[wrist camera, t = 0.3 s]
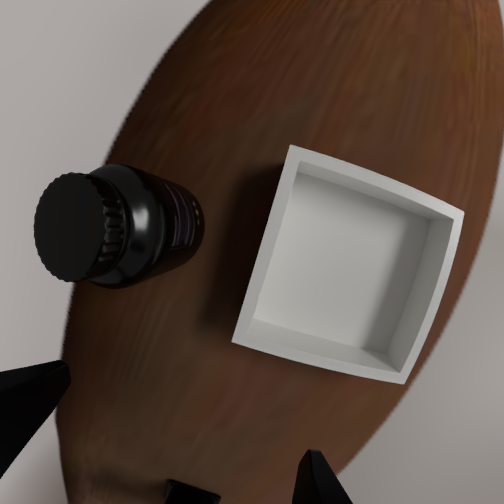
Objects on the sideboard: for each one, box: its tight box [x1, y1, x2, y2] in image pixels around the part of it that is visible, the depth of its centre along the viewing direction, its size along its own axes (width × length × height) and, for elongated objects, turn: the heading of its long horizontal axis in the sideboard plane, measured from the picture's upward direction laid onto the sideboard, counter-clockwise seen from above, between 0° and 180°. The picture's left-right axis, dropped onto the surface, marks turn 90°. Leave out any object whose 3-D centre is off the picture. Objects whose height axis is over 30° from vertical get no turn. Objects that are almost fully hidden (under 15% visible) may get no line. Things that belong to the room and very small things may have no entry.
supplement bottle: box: [34, 164, 205, 289], centre depth 16 cm, size 7×7×12 cm
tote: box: [232, 145, 464, 384], centre depth 18 cm, size 13×13×4 cm
